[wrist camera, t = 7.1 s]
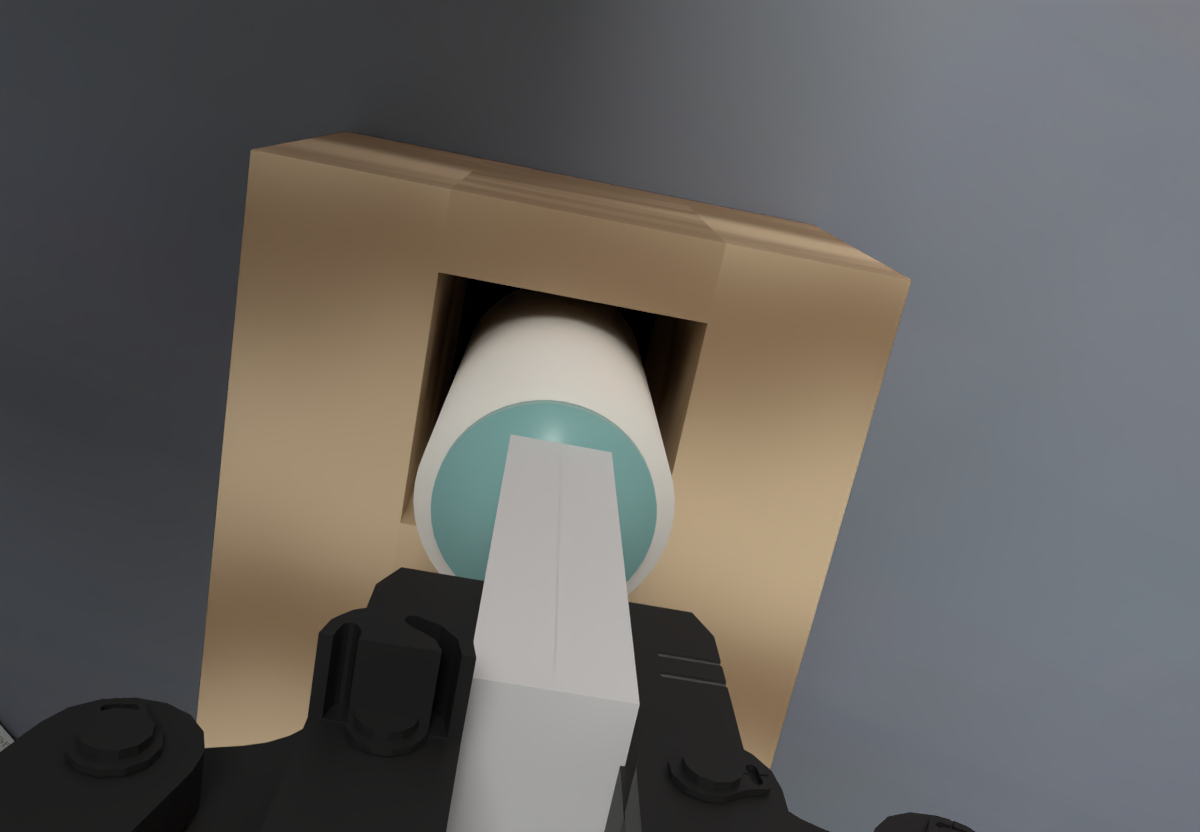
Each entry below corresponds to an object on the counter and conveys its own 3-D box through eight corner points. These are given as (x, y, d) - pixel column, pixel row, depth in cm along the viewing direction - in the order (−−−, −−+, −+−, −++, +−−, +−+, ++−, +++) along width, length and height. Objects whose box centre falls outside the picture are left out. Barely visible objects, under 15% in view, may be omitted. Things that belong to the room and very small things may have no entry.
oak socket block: (346, 131, 26) (250, 149, 18) (813, 225, 27) (911, 280, 19) (272, 745, 31) (174, 961, 23) (665, 804, 32) (694, 1030, 24)
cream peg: (479, 267, 23) (430, 362, 15) (657, 301, 23) (703, 412, 15) (452, 436, 24) (393, 609, 16) (621, 467, 24) (646, 650, 16)
